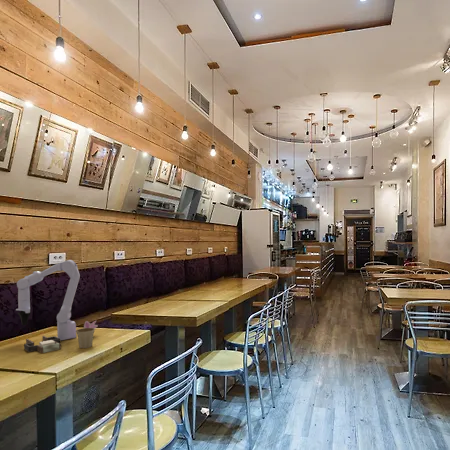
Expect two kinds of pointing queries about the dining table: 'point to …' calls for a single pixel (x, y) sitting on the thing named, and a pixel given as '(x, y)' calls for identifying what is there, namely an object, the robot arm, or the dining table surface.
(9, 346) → the dining table surface
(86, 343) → the flower pot
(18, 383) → the dining table surface
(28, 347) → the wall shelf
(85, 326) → the lily
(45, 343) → the cream block
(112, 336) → the dining table surface
